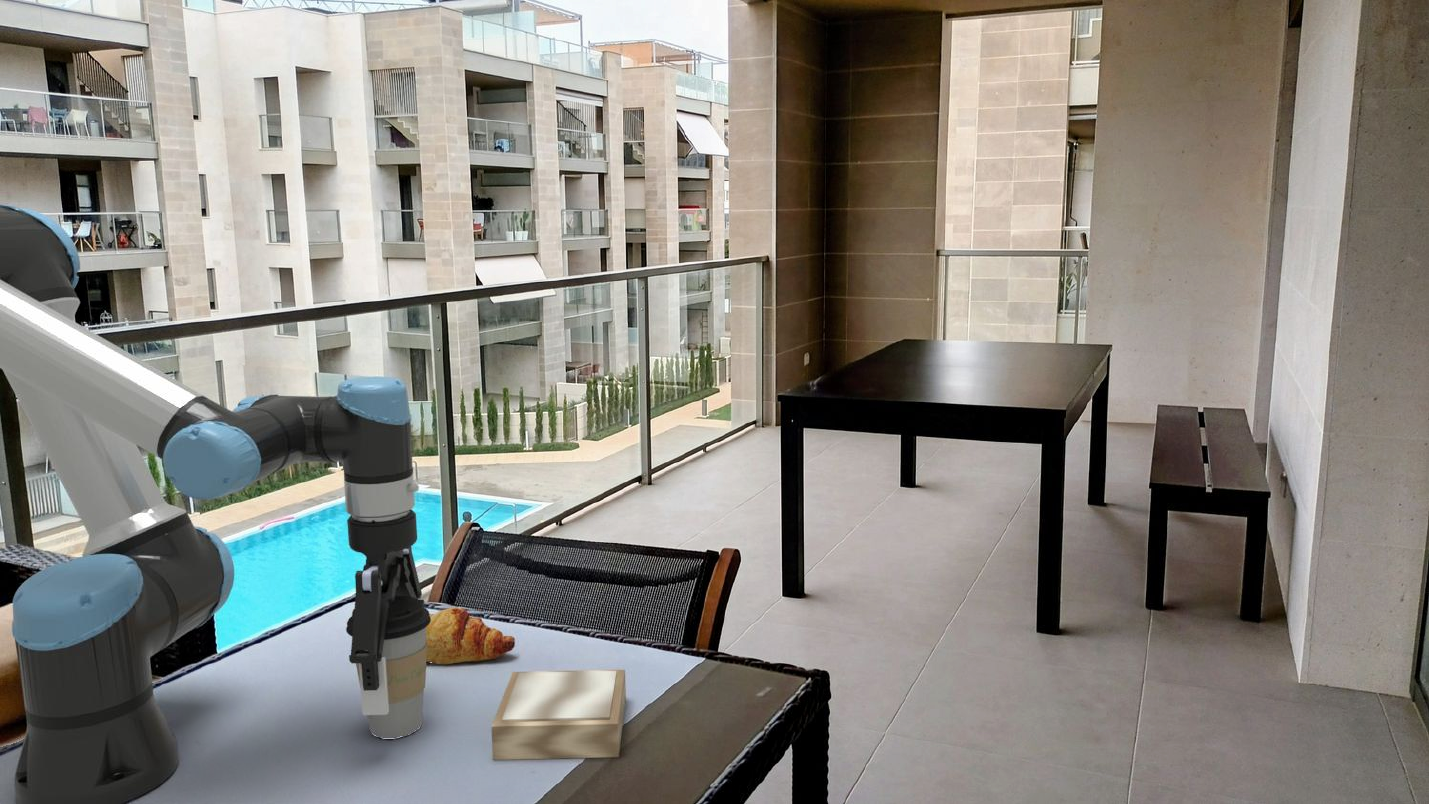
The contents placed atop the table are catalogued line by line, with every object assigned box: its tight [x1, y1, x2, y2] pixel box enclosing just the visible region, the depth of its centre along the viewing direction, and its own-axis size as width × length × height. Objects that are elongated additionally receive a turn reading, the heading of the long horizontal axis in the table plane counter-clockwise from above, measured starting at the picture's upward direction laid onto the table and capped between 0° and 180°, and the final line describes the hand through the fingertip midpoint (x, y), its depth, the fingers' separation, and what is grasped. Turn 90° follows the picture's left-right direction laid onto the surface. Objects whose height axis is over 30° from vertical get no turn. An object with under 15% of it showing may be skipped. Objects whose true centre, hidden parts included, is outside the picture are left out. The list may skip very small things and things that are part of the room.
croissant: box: [426, 606, 516, 665], centre depth 141 cm, size 21×10×8 cm, turn 77°
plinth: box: [491, 669, 627, 761], centre depth 119 cm, size 14×14×4 cm
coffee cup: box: [345, 596, 431, 738], centre depth 119 cm, size 9×9×15 cm
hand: (393, 686), depth 119 cm, fingers open, 13 cm apart
